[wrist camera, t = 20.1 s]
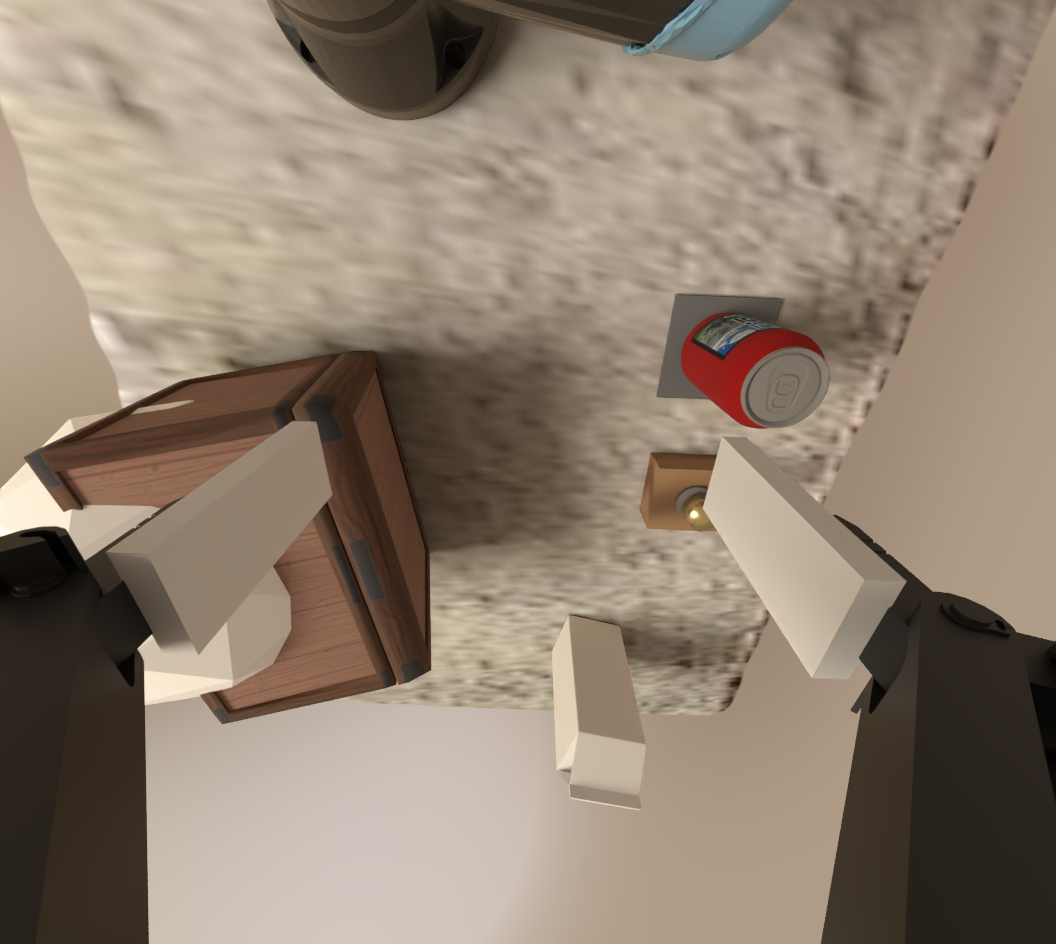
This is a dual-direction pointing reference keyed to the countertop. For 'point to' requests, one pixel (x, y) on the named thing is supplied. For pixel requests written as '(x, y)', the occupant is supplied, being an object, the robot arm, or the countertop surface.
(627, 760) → the milk carton
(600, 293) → the countertop surface
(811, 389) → the beverage can
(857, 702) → the robot arm
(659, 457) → the pedestal
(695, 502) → the lever
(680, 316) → the mat
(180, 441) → the tissue box
